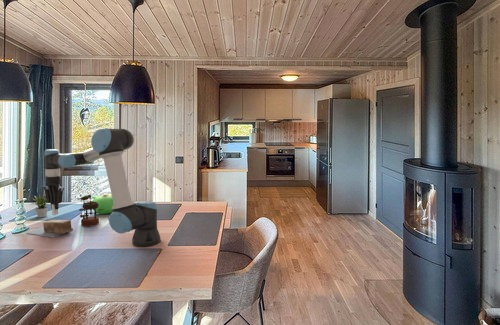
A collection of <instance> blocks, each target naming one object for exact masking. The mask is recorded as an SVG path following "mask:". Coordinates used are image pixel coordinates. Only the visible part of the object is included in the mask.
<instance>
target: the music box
mask: <svg viewBox="0 0 500 325" xmlns="http://www.w3.org/2000/svg"><path fill="white" fill-rule="evenodd" d="M76 199H77V201H79V200H80V201H83V203H82V208H79V209H78V210H79V212H80V215H79V217H80V218H81V219H80V218H79V219H80V223H81V224H80V225H81V226H82V227H93V226H97V225H99V224H100V217H98V216H97V215H98V214H99V212H96V208H98V206H99V204H98V203H97V202H93V200H92V195H91V194H87V195H84V196H82V197H80V198H76ZM89 199H90V200H89ZM87 200H89V201H87ZM85 201H87V202H85ZM93 209H94V210H93ZM92 210H93V211H94V212H93V211H92ZM100 210H104V209H100ZM88 211H89V212H88ZM83 212H84V214H83ZM92 215H93V216H92Z"/></svg>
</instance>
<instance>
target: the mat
mask: <svg viewBox="0 0 500 325" xmlns="http://www.w3.org/2000/svg"><path fill="white" fill-rule="evenodd" d="M73 230H74V228H72V230H70V231H67V232H65V233H47V232H44V226H42V227H38V228H37V229H34V230H31V231H28V232H26V235H27V234H28V235H34V236H41V237H48V238H49V237H50V238H55V237H56V238H57V237H59V236H61V235H64V234H66V233H70V232H71V231H73Z"/></svg>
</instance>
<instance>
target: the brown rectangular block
mask: <svg viewBox="0 0 500 325" xmlns="http://www.w3.org/2000/svg"><path fill="white" fill-rule="evenodd" d="M42 224H43V225H42V227H44V232H47V233H64V234H66V233H65V232H67V231H69V232H71V231H70V230H72V229H73V228H72V221H71V219H50V220H47V221H43V222H42ZM72 231H73V230H72ZM67 233H68V232H67Z"/></svg>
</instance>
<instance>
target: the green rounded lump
mask: <svg viewBox="0 0 500 325" xmlns="http://www.w3.org/2000/svg"><path fill="white" fill-rule="evenodd" d="M91 199H93V200H92V202H97V203H98V204H99V206H98V208H96V212H99V213H98V214H99V215H100V214H101V215H106V214H111V213H112V207H113V206H114V203H113V198H112V194H111V193H109V194H100V195H99V196H96V195H91ZM100 209H104V210H100ZM93 211H94V209H93Z"/></svg>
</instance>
